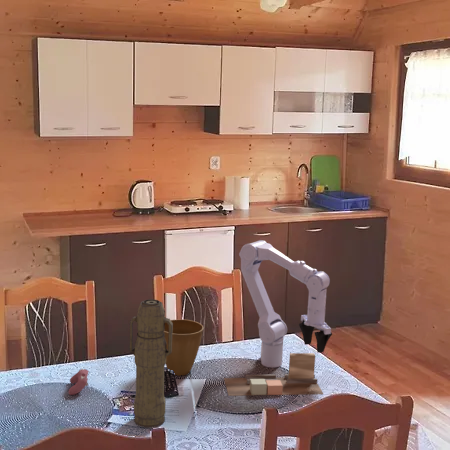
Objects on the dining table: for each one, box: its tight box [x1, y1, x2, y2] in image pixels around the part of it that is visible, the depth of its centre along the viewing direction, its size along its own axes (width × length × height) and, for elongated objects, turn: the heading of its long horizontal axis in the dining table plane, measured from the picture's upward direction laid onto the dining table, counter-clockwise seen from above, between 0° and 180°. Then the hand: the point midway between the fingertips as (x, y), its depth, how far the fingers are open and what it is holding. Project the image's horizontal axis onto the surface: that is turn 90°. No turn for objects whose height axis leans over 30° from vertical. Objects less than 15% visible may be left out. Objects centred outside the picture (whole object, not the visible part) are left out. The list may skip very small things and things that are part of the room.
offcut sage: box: [250, 379, 267, 396], centre depth 203 cm, size 4×5×4 cm
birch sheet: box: [288, 352, 316, 379], centre depth 212 cm, size 2×8×9 cm, turn 96°
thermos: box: [128, 298, 173, 429], centre depth 182 cm, size 9×12×35 cm
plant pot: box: [164, 318, 204, 377], centre depth 218 cm, size 15×15×16 cm
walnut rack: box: [223, 373, 324, 397], centre depth 208 cm, size 13×30×2 cm, turn 96°
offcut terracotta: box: [266, 380, 283, 396], centre depth 204 cm, size 4×5×3 cm
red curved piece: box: [68, 368, 90, 396], centre depth 203 cm, size 10×5×7 cm, turn 10°
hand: (313, 347), depth 216 cm, fingers open, 7 cm apart
